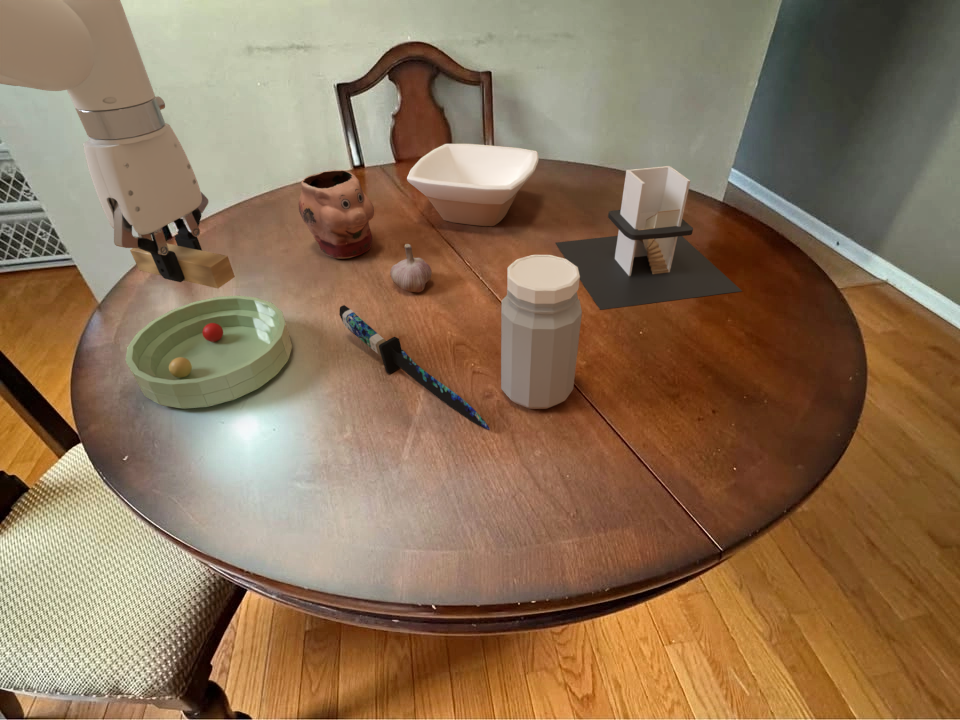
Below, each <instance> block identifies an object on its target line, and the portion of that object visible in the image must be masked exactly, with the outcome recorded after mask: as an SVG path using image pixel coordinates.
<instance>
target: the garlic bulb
mask: <svg viewBox="0 0 960 720" xmlns="http://www.w3.org/2000/svg"><path fill="white" fill-rule="evenodd" d="M404 252H405V255H406V256H405V257H406V258H405V259H402V260H400V261H398V262H397V263H396V264H393V265H392V267H391V268H390V271H389V275H390V279H391V281H392V282H393V283H394V284H396V286H397V287H398V288H400V289H402V290H404V291H406V292H411V293H412V292H413V293H421V292H423V291H424V289H425V287H426V283H428V282H429V281H430V279H431V277H432V275H433V274H432V273H433V272H432V268H431V266H430V264H428V262H426V261H425V259H423V258H421V257H414V254H413V249H412V245H411V244H409V243H405V244H404Z"/></svg>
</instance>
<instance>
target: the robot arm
mask: <svg viewBox="0 0 960 720" xmlns="http://www.w3.org/2000/svg"><path fill="white" fill-rule="evenodd" d="M131 28H132V27H131V25H130V23H129V20H128V17H127V14H126V12H125V10H124V6H123V4H122V2H121V0H0V85H5V86H12V87H21V88H29V89H35V90H42V91H47V92H62V91H67V93H68V95H69V97H70V100H71V102H72V104H73V106H74V109H75V111H76V114H77V115H78V118H79V121H80V122H81V124H82V127H83V129H84V131H85V133H86V135H87V137H88V140H85V141H84V142H83V144H82V145H83V151H84V157H85V161H86V165H87V168H88V173H89V176H90V178H91V181H92V184H93V187H94V190H95V194H96V196H97V198H98V201H99V203H100V206H101V208H102V210H103V213H104V216H105V218H106V220H107V222H108V224H109V225H110V227H111V228H112V229H113V244H114V245H115V246H116V247H120V248H123V249H124V248H125V249H133V248H139V249H142V250H144V251H146V252H150V253H151V255H152V257H153V260H154V262H155V264H156V266H157V269H158V271H159V273H160V274H161V275H160V276H161V277H162V278H163V279H165V280H169V281H173V282H177V283H182V282H185V281H184V280H185V277H184V275H183V272H182V270H181V267H180V265H179V263H178V259H177V257H176V254H175V253H174V252H173V251H169V249H168V246H167V244H168V243H167V240H166V236H165V234H164V229H163V228H164V227H166V226H168V225H170V224H172V226H173V229H174V230H175V232H176V233H177V234H176V235H174V240H175V243H176V245H177V246H181V247H186V248H191V249H197V250H201V251H203V248H202V246H201V243H200V241H199V238H198V237H199V236H200V234H201V229H200V228H199V227H200V226H199V225H200V223H201V219H202V214H203V213H204V211H205V209H206V208H207V207H208V205H209V199H208V198H207V196H206V195H205V194H204V193H203V192H202V191H201V188H200V185H199V182H198V180H197V177H196V174H195V171H194V169H193V167H192V165H191V163H190V160H189V158H188V156H187V154H186V152H185V150H184V147H183V145H182V144H181V142H180V140H179V138H178V136H177V135H176V133H175V132H174V130H173V128H172V127H171V125H170V124H169V123H167V122H165V119H164V116H163V113H162V110H164V109H165V108H166V103H165V101H164V100H163V98H162V97H161V96H158V95H157V96H155V92H154V89H153V86H152V83H151V81H150V78H149V75H148V72H147V69H146V67H145V65H144V62H143V58H142V56H141V53H140V51H139V48H138V45H137V42H136V40H135V37H134V34H133V31H132V29H131ZM133 229H134V231H135V232H136V233H137V235H138V236H136V235H133Z"/></svg>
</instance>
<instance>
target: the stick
mask: <svg viewBox="0 0 960 720" xmlns="http://www.w3.org/2000/svg"><path fill="white" fill-rule="evenodd" d="M167 246H168V249H169V251H173V252H174V253H175V254H176V257H177V259H178V263H179V265H180V267H181V270H182V272H183V275H184V277H185V280H184V281H183V282H188V283H192V284H197V285H201V286H206V287H209V288H214V289H220V288H221V287H223V286H224V285H225V284H227V283H228V282H230V281H231V280H233V279H234V278H235V277H236V276H235V273H234V270H233V267H232V264H231V261H230V258H229V256H228V255H225V254H220V253H217V252H216V253H215V252H211V251H207V250H206V251H205V250H202V251H201V250H197V249H191V248H186V247H181V246H177V244H171V243H167ZM129 251H130V253H131V256H132V258H133V260H134V262H135V265H136V266H137V268H138V271H139V272H144V273H148V274H152V275H157V276H161V274H160V273H159V271H158V269H157V266H156V264H155V262H154V260H153V257H152V255H151V253H150V252H146V251H144V250H142V249H139V248H130V250H129Z"/></svg>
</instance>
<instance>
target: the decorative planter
mask: <svg viewBox="0 0 960 720" xmlns="http://www.w3.org/2000/svg"><path fill="white" fill-rule="evenodd" d="M300 184H301V192H300V194H299V198H298V212H299V215H300V216H301V218H302V221H303V223H304V224H305V225H306V226H307V228H308V230H309V232H310V233H311V235H312V237H313V238H314V239H315V241H316V242H317V244H318V245H319V248H320V251H322V253H323V254H324V255H326V256H328V257H330V258H334V259H342V260H343V259H351V258H354V257H357V256H361V255H363V254H364V253H366V252H368V251H369V250H370V249H371V247H372V242H373V234H372V230H371V227H370V223H369V221H371V220H372V219H373V218H374V216H375V206H374V204H373V203H372V201H371V200H370V198H369V197H368V196H367V195H366V194H365V192H364V191H363V188H362V185H361V181H360V180H359V178H358V177H356V175H355V174H353V173H352V172H351V171H347V170H343V169H333V170H324V171H321V172H318V173H314V174H310V175H308V176H306V177H305V178H303V179H302V181H301V183H300Z"/></svg>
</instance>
